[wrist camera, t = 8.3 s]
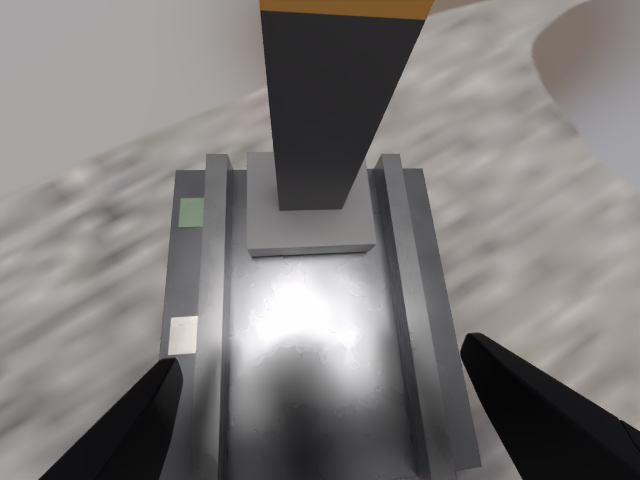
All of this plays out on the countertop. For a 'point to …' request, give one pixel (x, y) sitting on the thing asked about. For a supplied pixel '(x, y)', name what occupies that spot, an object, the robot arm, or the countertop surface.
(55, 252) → the countertop surface
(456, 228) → the countertop surface
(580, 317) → the countertop surface
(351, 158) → the breaker handle
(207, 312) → the breaker housing
